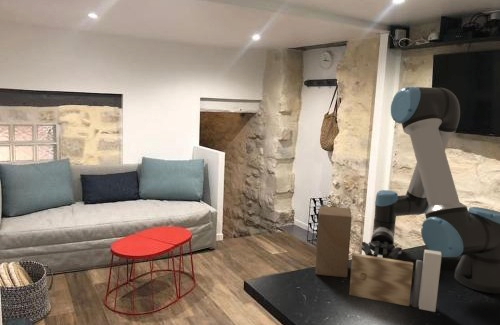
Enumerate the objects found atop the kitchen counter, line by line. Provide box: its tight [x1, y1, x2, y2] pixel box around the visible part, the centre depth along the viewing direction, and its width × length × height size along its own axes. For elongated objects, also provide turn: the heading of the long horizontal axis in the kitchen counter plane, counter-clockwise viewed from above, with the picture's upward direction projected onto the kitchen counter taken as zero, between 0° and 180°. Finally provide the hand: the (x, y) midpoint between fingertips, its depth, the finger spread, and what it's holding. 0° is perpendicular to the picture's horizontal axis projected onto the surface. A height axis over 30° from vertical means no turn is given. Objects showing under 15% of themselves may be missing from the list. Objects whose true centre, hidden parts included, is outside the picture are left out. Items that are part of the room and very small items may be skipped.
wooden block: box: [314, 205, 353, 278], centre depth 129 cm, size 10×10×20 cm
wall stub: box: [411, 249, 442, 313], centre depth 107 cm, size 6×2×16 cm, turn 70°
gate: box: [348, 252, 414, 307], centre depth 111 cm, size 16×3×12 cm, turn 70°
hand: (378, 267), depth 118 cm, fingers closed
